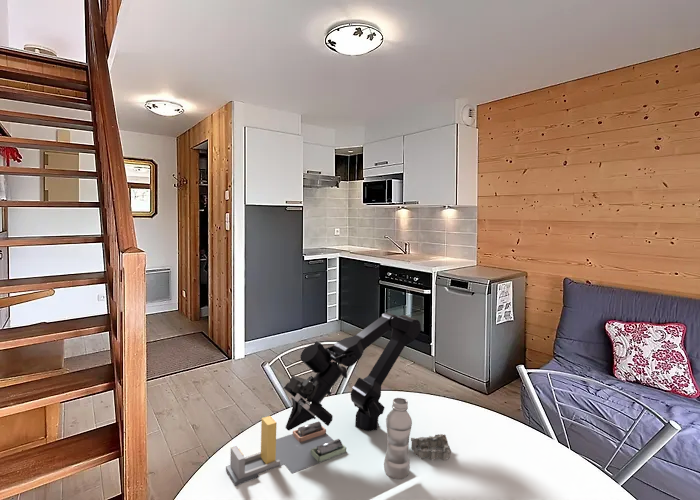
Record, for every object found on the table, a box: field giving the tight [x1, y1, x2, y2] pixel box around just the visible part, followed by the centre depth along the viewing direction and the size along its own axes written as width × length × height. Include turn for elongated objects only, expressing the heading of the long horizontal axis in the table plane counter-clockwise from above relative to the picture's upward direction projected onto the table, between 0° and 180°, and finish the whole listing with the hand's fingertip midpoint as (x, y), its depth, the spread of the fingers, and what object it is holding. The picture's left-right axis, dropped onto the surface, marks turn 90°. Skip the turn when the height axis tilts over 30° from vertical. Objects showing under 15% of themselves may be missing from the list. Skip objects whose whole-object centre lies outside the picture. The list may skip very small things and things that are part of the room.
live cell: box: [317, 438, 343, 457], centre depth 110 cm, size 7×3×3 cm, turn 125°
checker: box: [225, 426, 348, 486], centre depth 109 cm, size 30×16×6 cm, turn 125°
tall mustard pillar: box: [260, 415, 277, 464], centre depth 105 cm, size 2×4×11 cm, turn 35°
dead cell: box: [297, 421, 322, 437], centre depth 119 cm, size 7×3×3 cm, turn 125°
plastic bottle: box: [383, 397, 413, 480], centre depth 103 cm, size 6×7×20 cm
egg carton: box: [410, 433, 452, 461], centre depth 114 cm, size 11×8×4 cm
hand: (287, 429), depth 108 cm, fingers closed
